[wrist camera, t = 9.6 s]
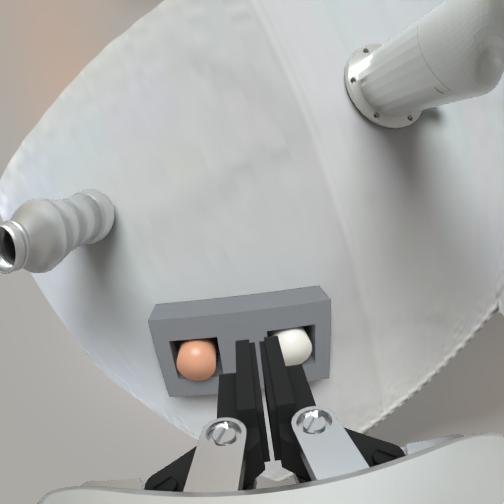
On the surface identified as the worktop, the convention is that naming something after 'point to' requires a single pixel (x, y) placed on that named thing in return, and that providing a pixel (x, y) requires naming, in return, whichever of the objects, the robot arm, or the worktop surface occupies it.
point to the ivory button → (293, 344)
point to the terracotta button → (197, 358)
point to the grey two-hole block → (239, 332)
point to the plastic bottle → (53, 230)
